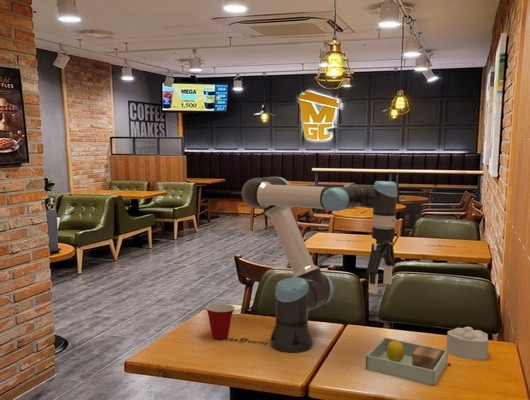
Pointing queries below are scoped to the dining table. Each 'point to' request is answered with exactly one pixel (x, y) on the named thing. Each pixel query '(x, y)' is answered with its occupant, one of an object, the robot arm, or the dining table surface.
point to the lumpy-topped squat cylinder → (468, 343)
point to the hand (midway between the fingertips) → (380, 288)
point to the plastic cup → (220, 320)
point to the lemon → (395, 351)
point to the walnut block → (425, 357)
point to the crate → (404, 363)
